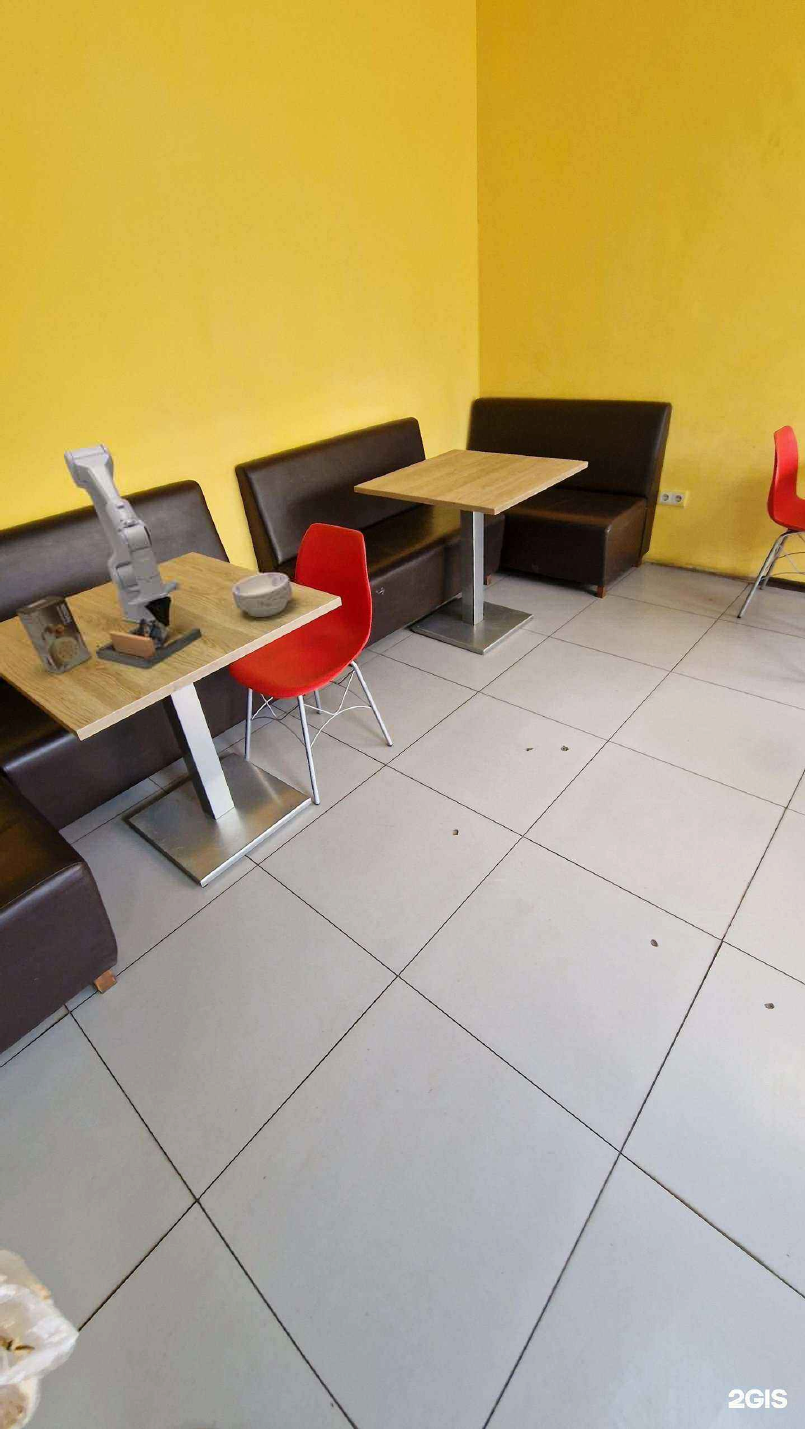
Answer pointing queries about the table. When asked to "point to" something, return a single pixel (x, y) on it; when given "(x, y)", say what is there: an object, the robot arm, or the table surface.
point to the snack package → (152, 632)
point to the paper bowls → (262, 594)
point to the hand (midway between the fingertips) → (165, 625)
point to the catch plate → (132, 644)
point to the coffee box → (54, 634)
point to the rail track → (153, 659)
